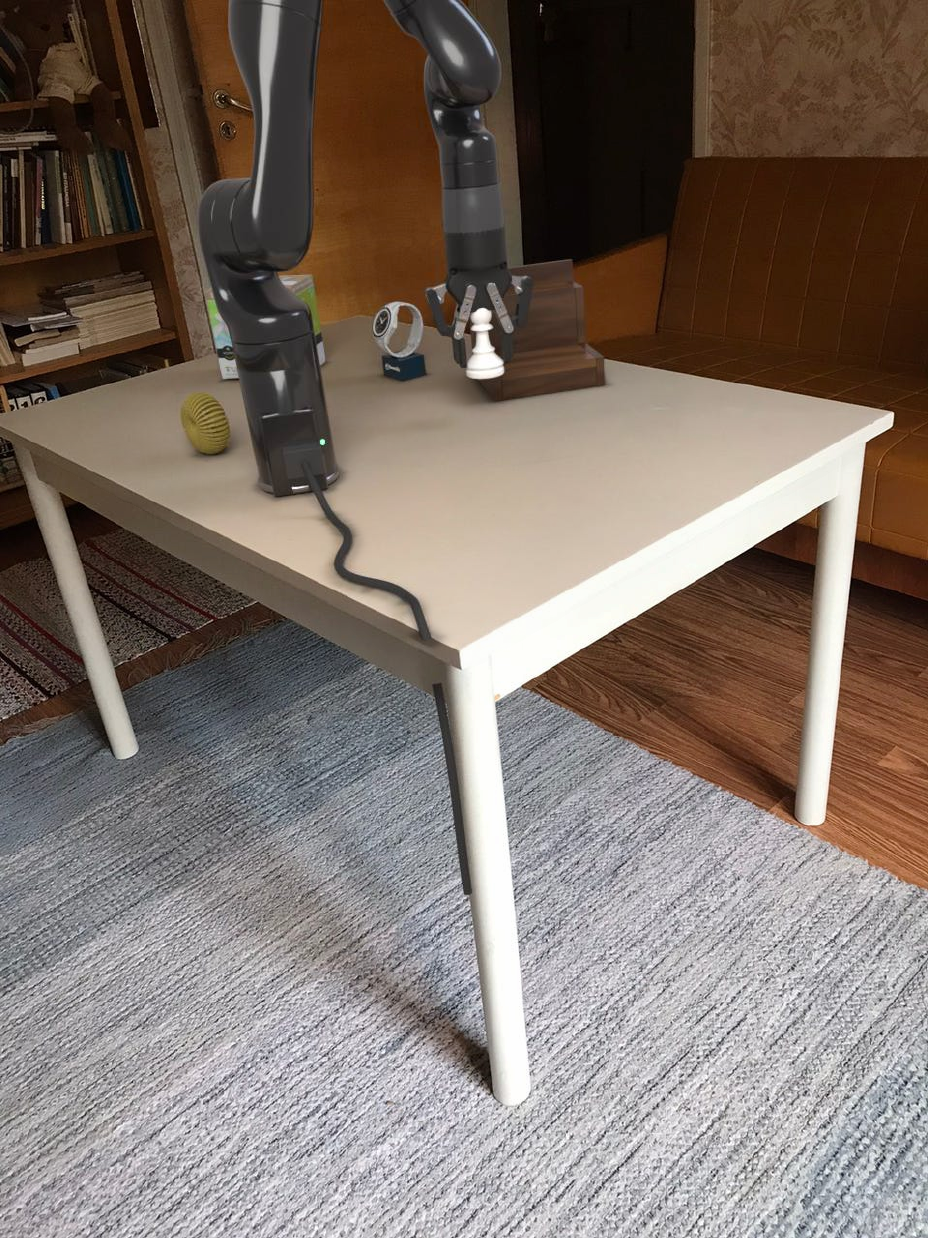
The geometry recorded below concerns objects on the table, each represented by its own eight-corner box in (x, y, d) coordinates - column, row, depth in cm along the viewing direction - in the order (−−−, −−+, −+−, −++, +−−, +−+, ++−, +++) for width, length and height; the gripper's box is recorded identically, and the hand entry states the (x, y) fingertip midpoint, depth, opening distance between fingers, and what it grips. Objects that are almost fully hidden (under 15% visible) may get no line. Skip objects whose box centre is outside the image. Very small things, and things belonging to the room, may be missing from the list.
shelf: (605, 384, 142) (601, 274, 135) (494, 401, 140) (485, 290, 133) (575, 360, 155) (571, 258, 148) (474, 375, 153) (464, 273, 146)
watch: (373, 378, 158) (363, 306, 152) (415, 366, 162) (407, 296, 156) (392, 384, 154) (382, 310, 148) (435, 371, 157) (427, 299, 152)
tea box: (221, 381, 165) (201, 288, 158) (246, 365, 174) (229, 276, 167) (305, 379, 161) (289, 283, 154) (328, 362, 170) (313, 271, 163)
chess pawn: (459, 378, 131) (453, 307, 127) (476, 368, 135) (470, 299, 130) (494, 380, 129) (489, 308, 124) (510, 370, 133) (506, 299, 128)
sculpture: (241, 453, 131) (228, 393, 127) (214, 463, 129) (200, 402, 125) (209, 443, 136) (196, 385, 132) (183, 452, 134) (168, 393, 130)
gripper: (420, 235, 119) (434, 378, 127) (538, 221, 121) (545, 363, 129) (412, 228, 126) (426, 364, 134) (524, 215, 127) (531, 351, 135)
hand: (484, 363), depth 131 cm, fingers closed on chess pawn, 5 cm apart
